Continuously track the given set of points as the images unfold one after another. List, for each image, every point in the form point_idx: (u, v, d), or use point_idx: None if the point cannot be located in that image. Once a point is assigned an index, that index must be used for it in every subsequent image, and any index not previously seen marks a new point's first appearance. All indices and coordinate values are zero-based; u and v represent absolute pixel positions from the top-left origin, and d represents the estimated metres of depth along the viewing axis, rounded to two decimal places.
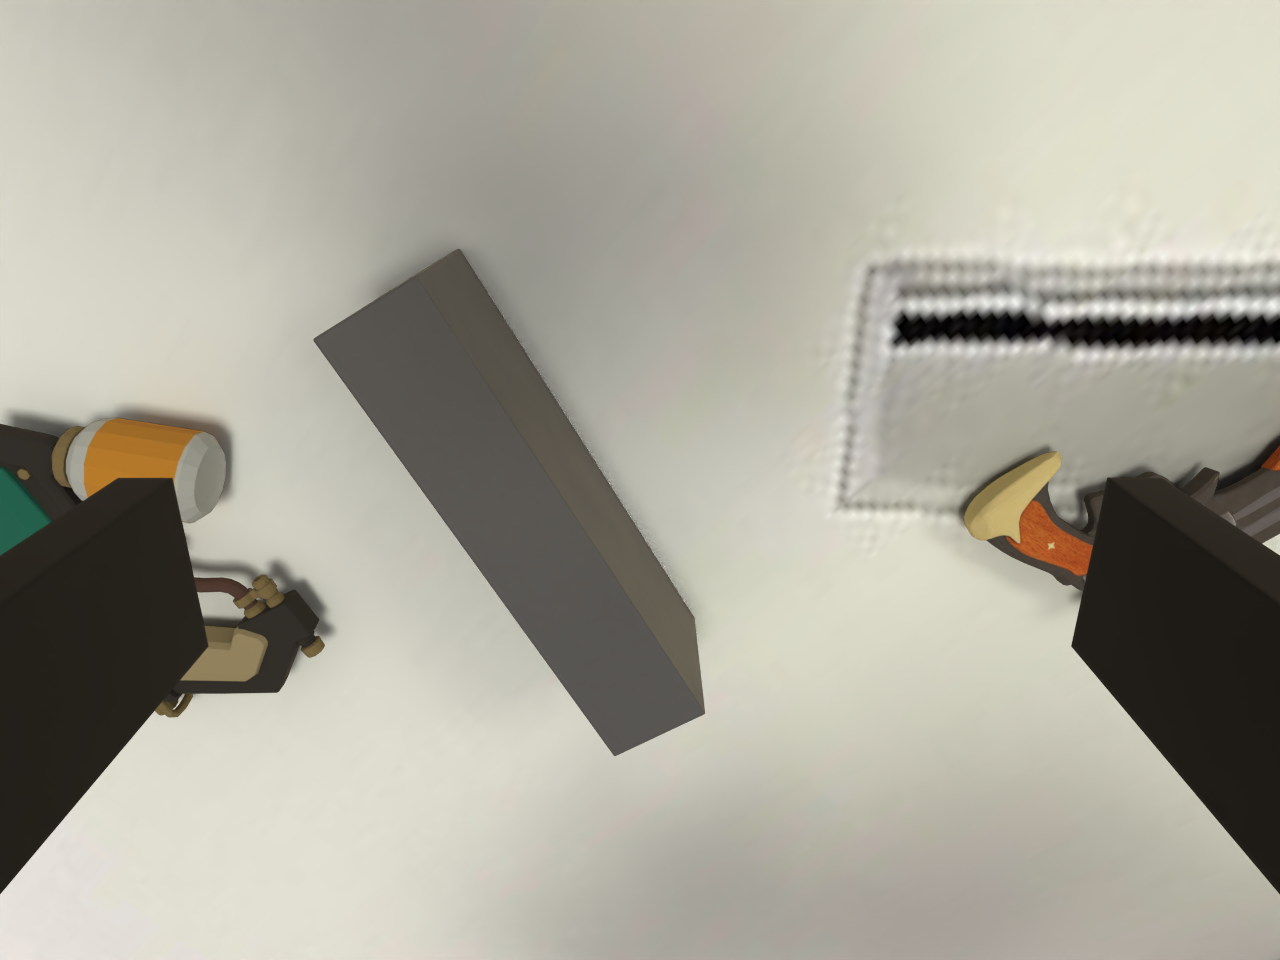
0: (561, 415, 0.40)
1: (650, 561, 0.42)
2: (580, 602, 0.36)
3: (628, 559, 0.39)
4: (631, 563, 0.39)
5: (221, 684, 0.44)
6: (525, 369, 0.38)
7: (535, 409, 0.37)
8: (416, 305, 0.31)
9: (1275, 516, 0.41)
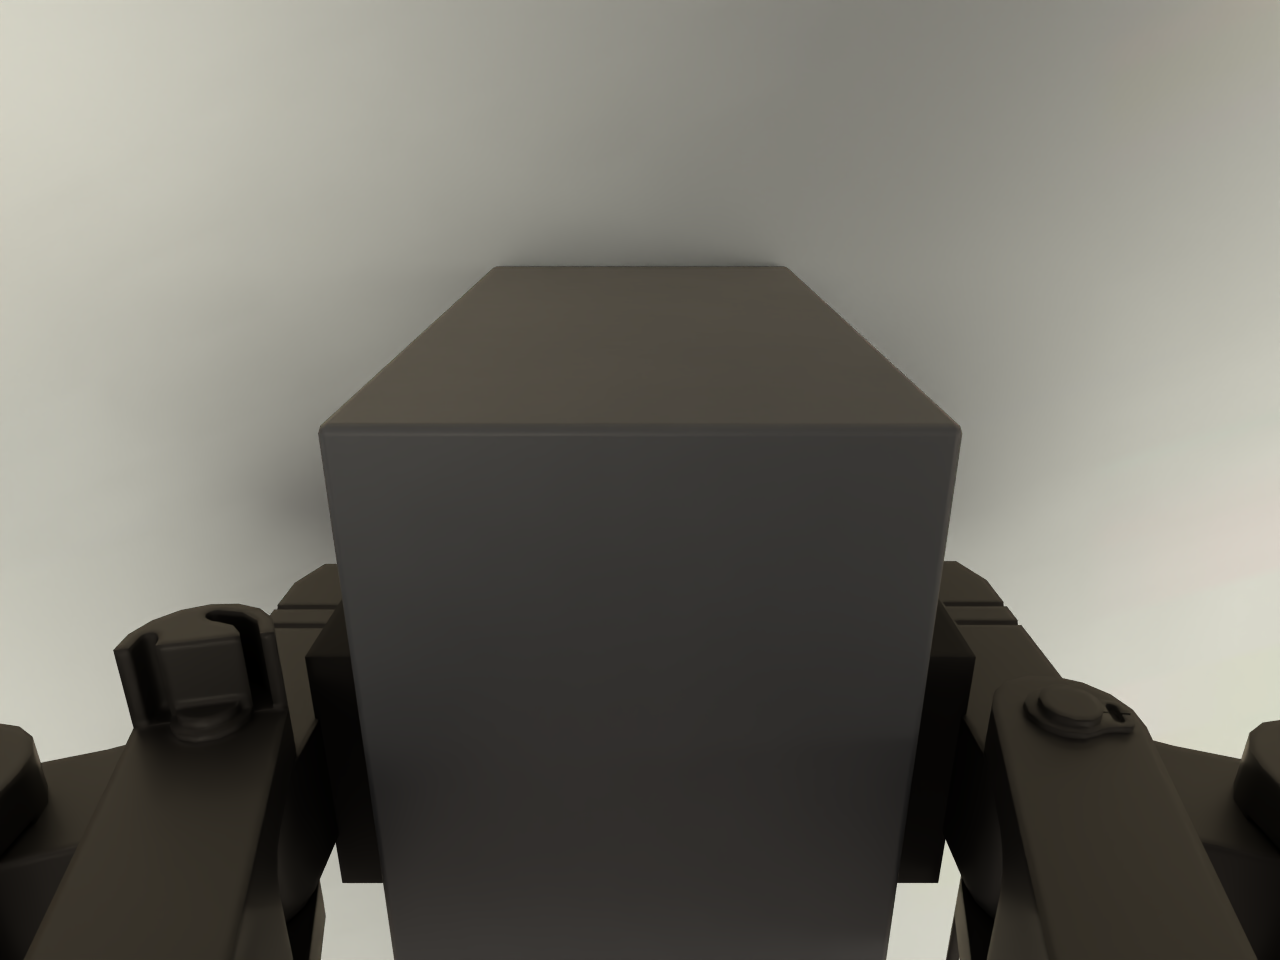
0: None
1: None
2: None
3: None
4: None
5: None
6: None
7: None
8: (869, 538, 0.06)
9: None
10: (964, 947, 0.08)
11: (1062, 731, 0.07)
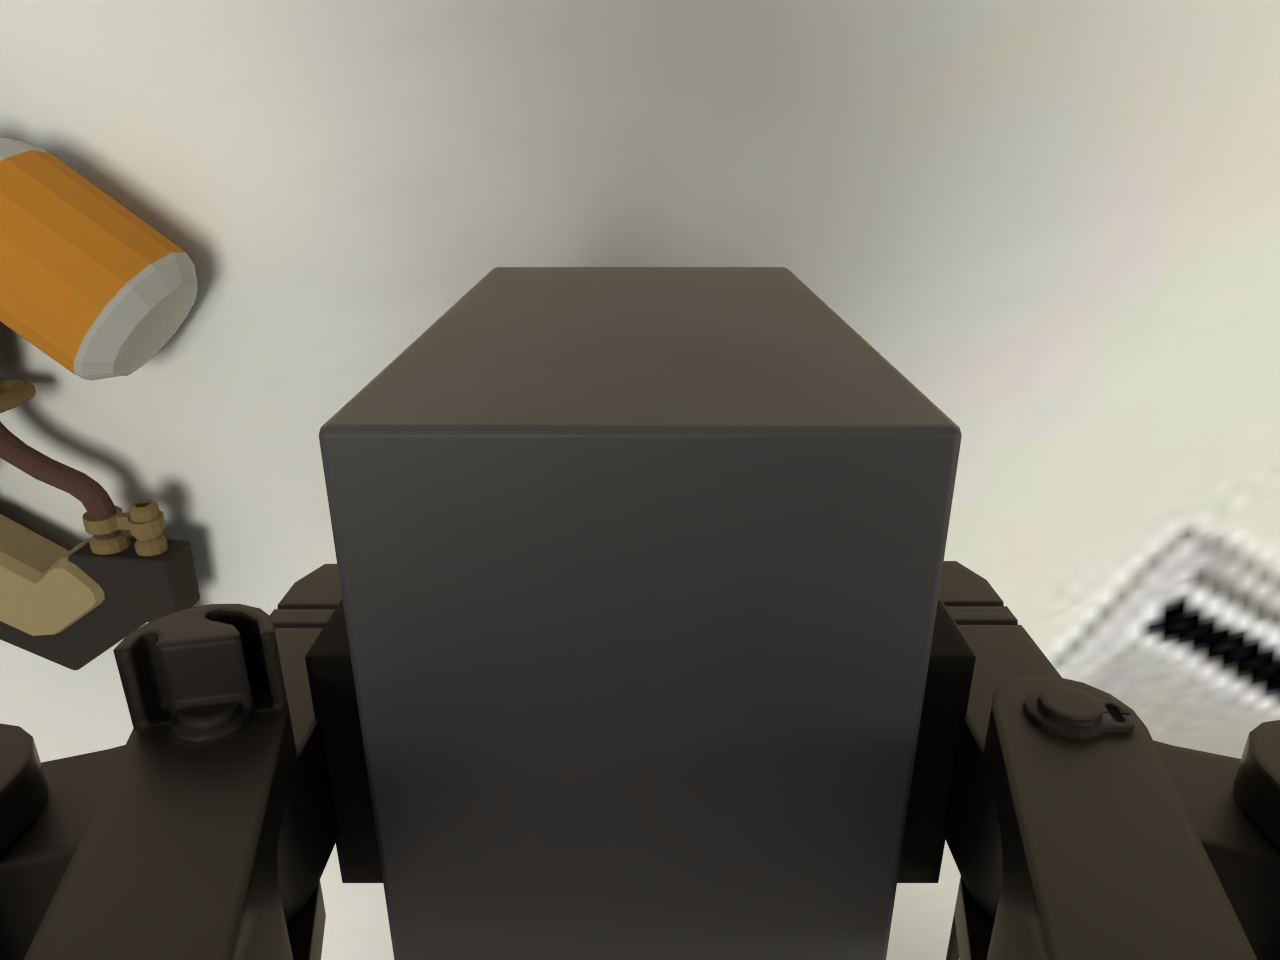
0: None
1: None
2: None
3: None
4: None
5: None
6: None
7: None
8: (869, 539, 0.06)
9: None
10: (963, 947, 0.08)
11: (1062, 732, 0.07)
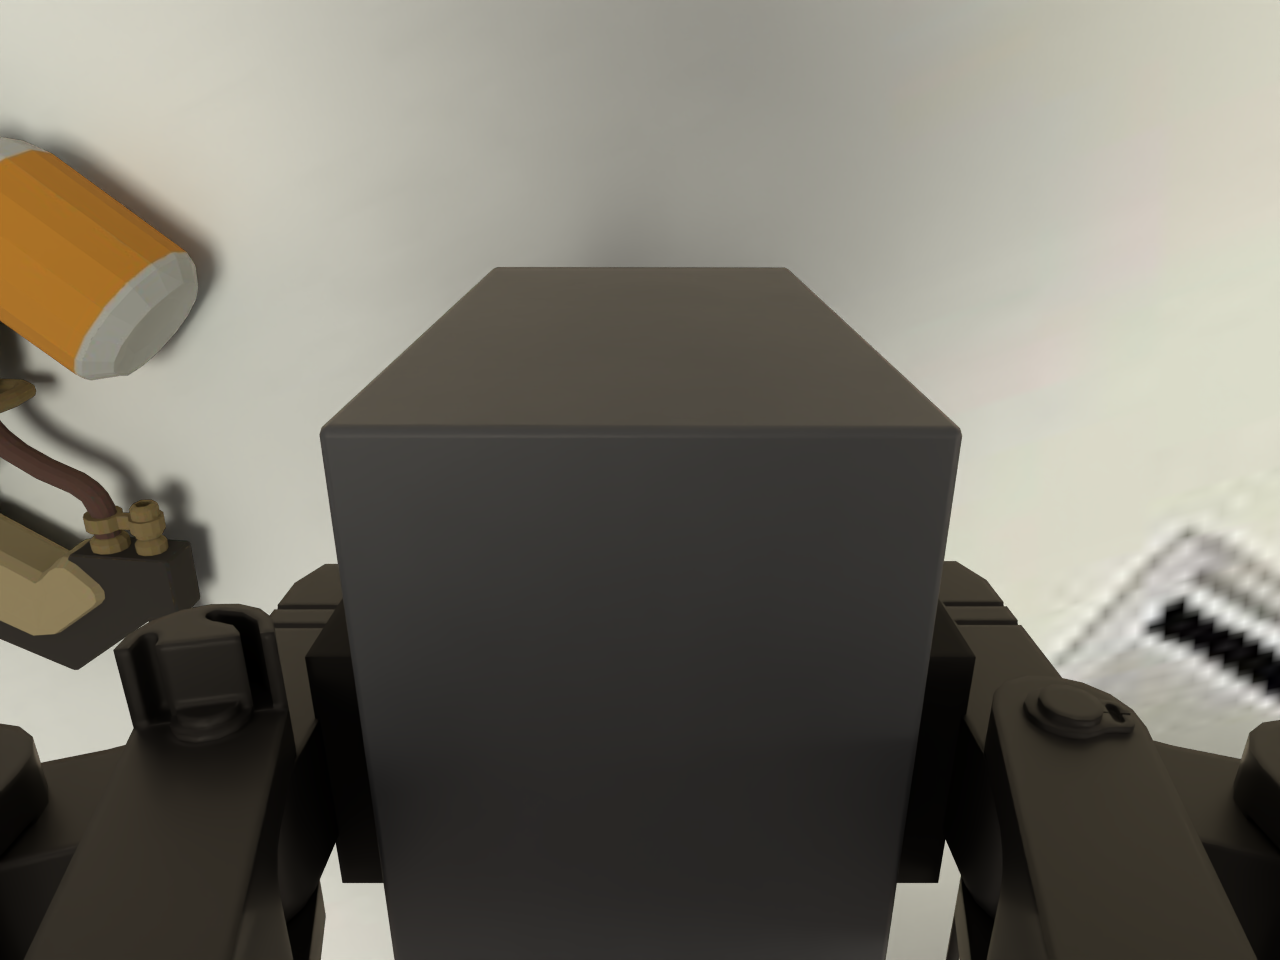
0: None
1: None
2: None
3: None
4: None
5: None
6: None
7: None
8: (870, 539, 0.06)
9: None
10: (964, 947, 0.08)
11: (1063, 732, 0.07)
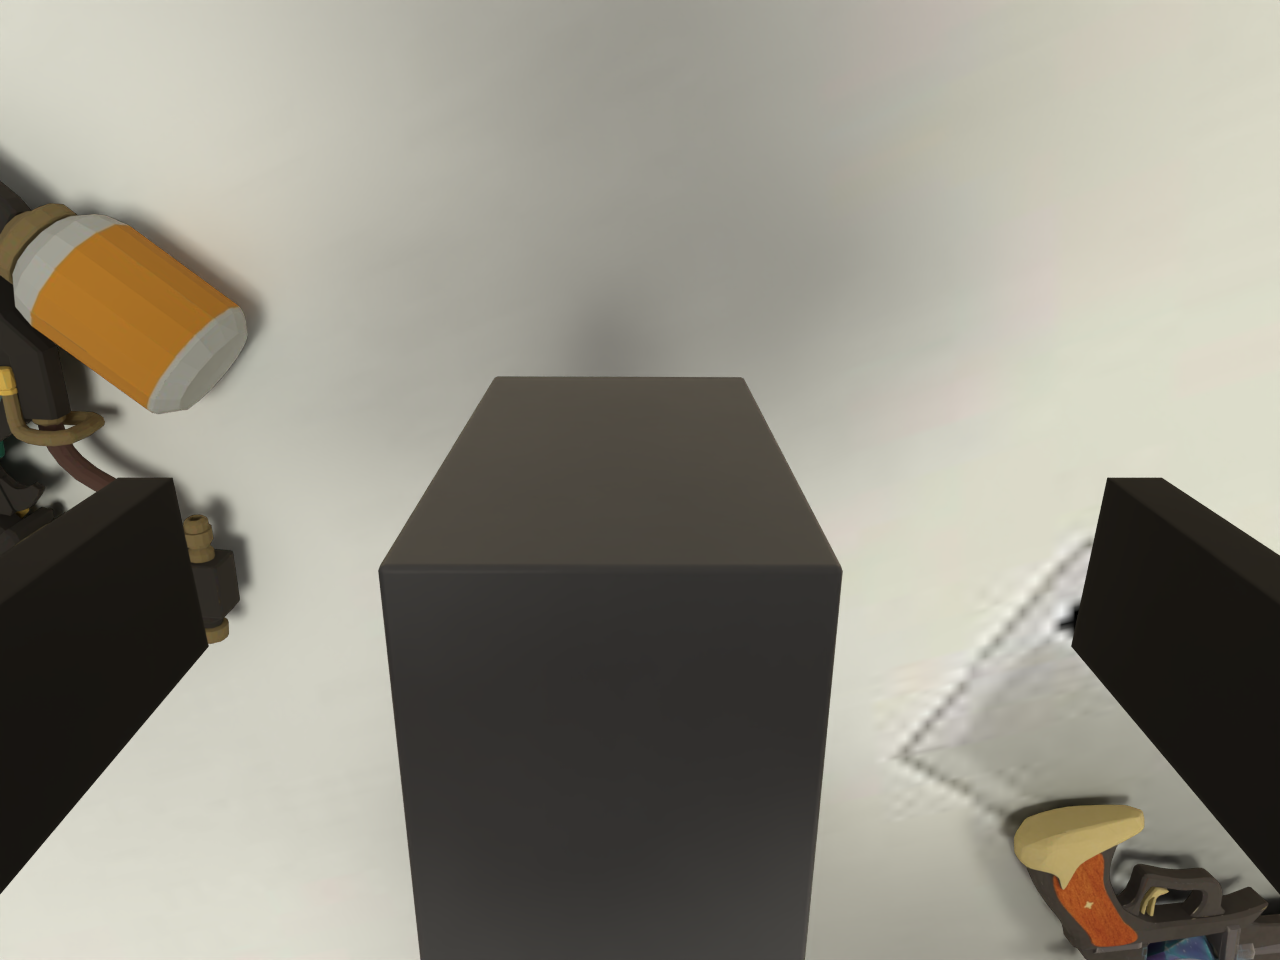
0: None
1: None
2: None
3: None
4: None
5: None
6: None
7: None
8: (779, 644, 0.09)
9: None
10: None
11: None
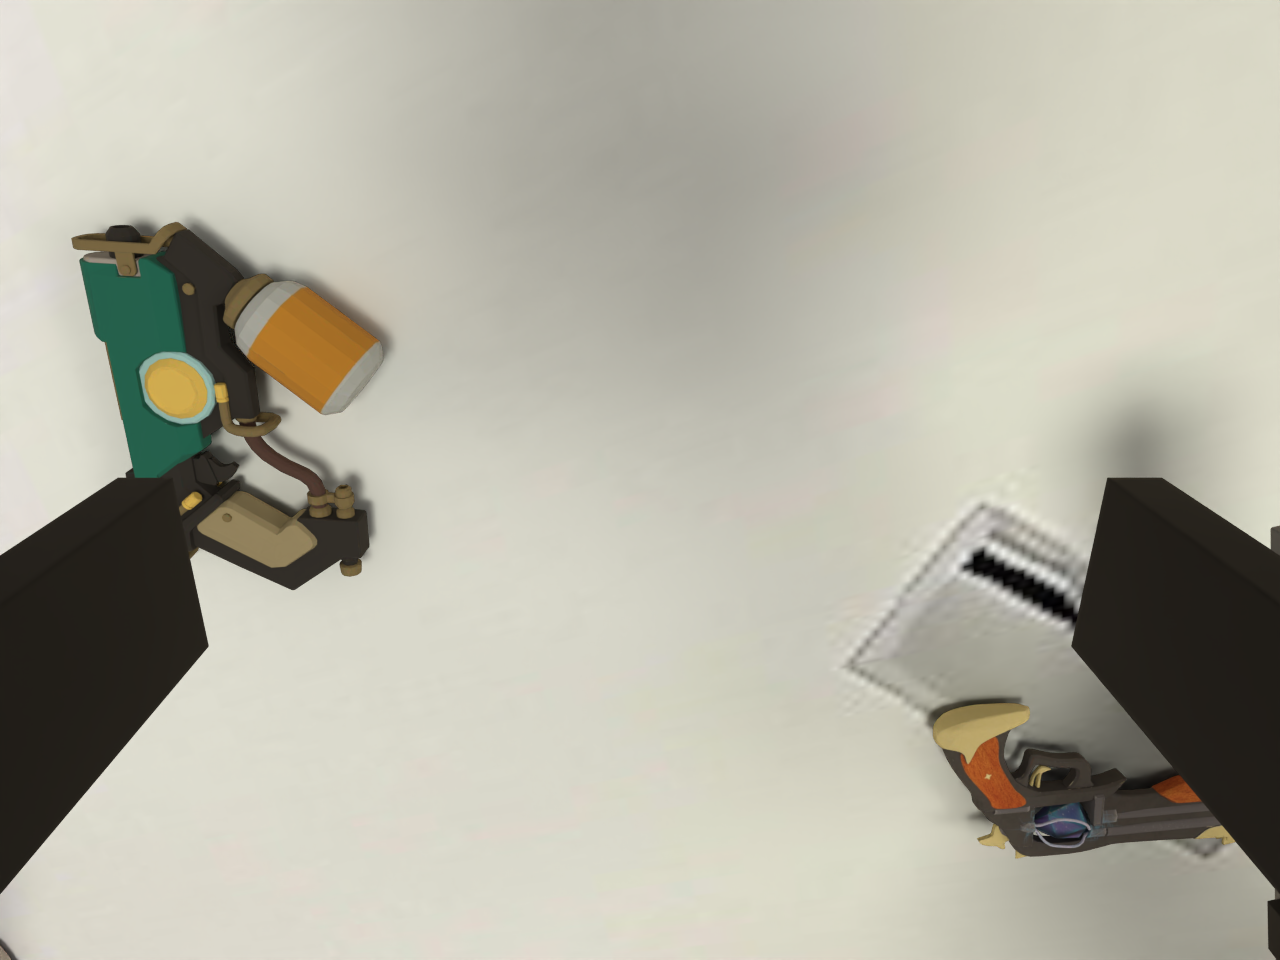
0: None
1: None
2: None
3: None
4: None
5: (245, 558, 0.43)
6: None
7: None
8: None
9: (1143, 828, 0.50)
10: None
11: None
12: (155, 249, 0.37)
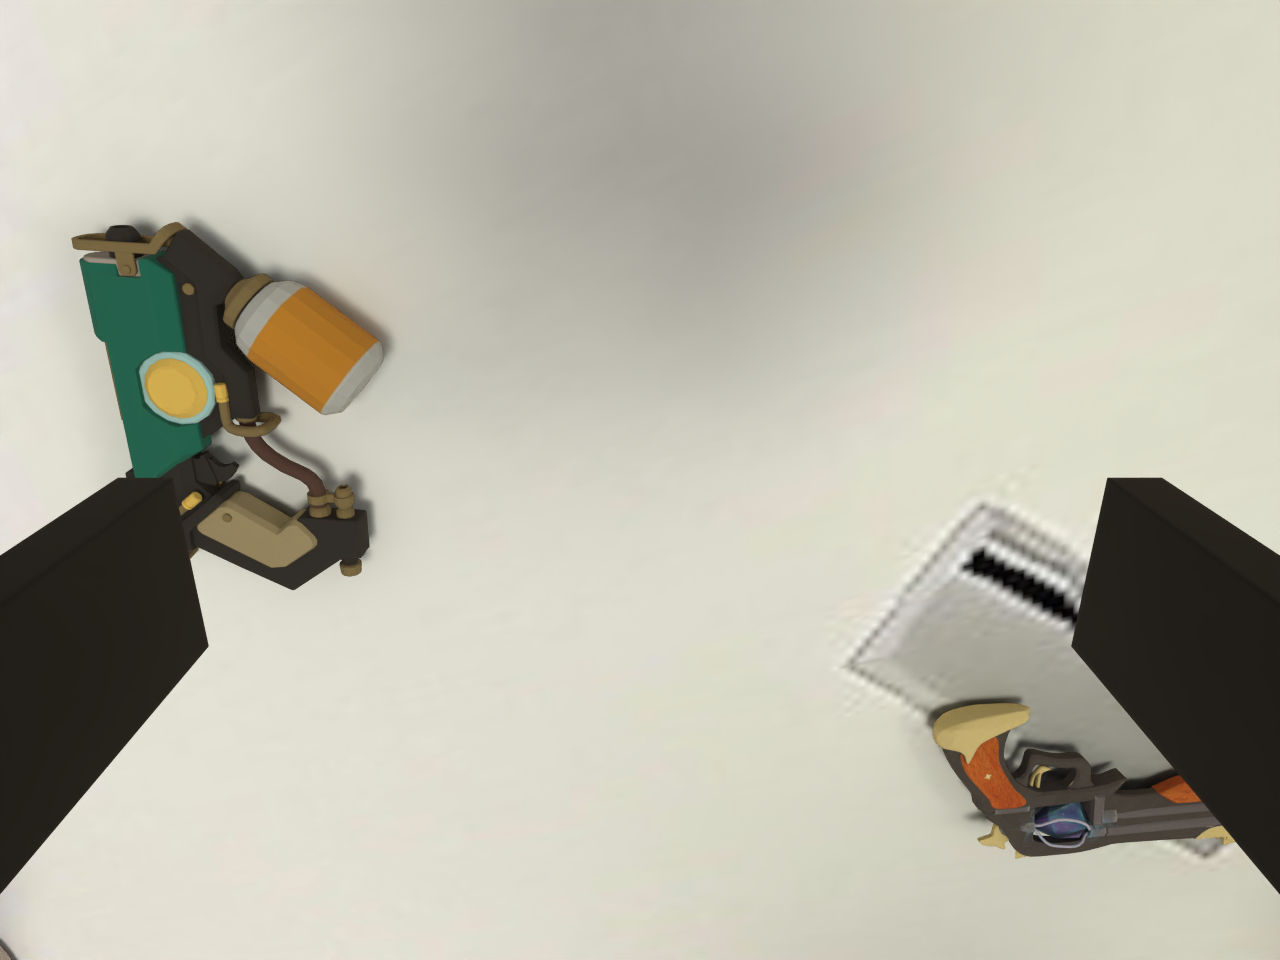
0: None
1: None
2: None
3: None
4: None
5: (245, 558, 0.43)
6: None
7: None
8: None
9: (1143, 828, 0.50)
10: None
11: None
12: (155, 249, 0.37)
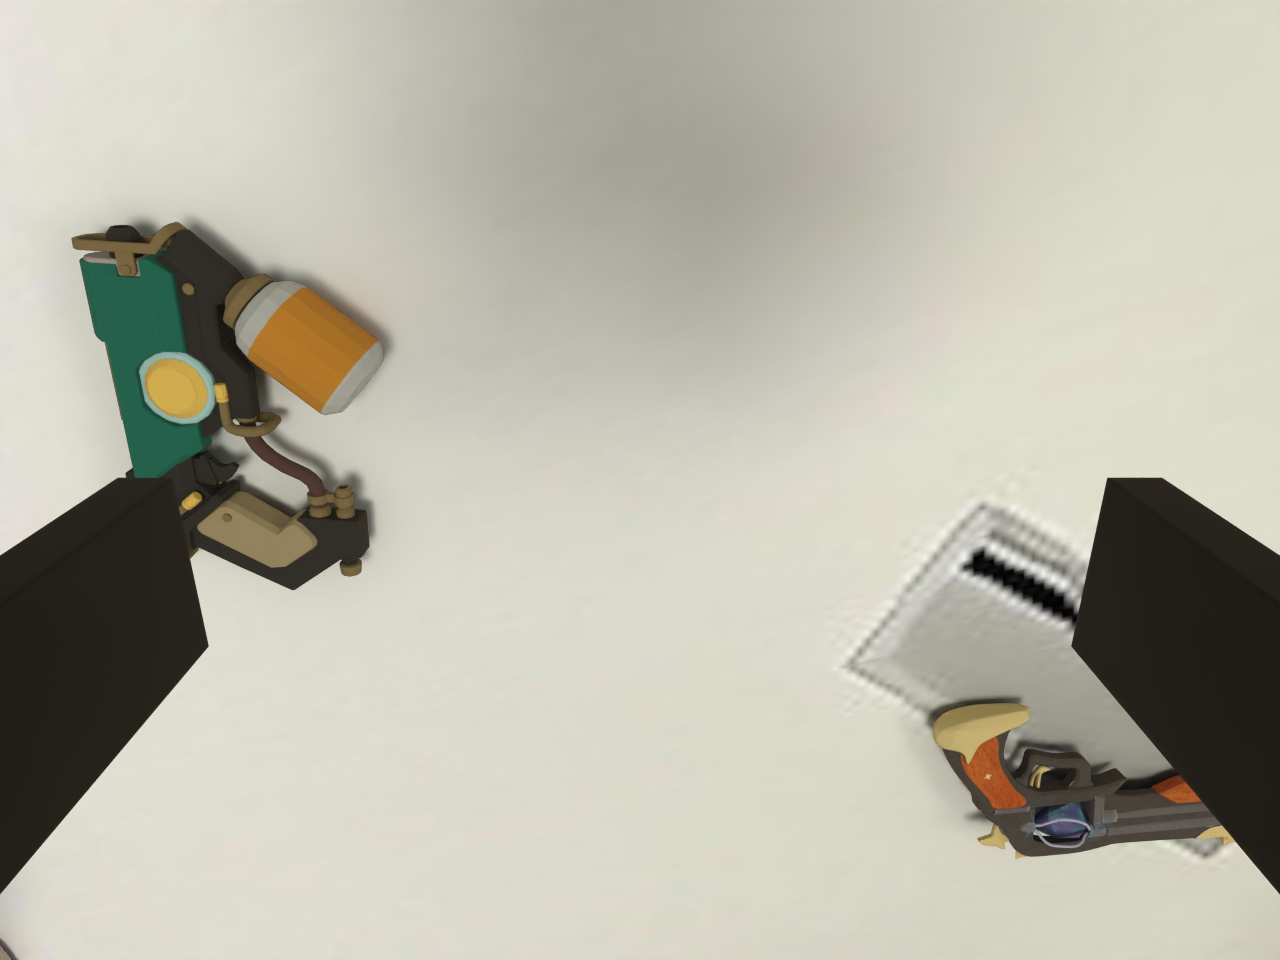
0: None
1: None
2: None
3: None
4: None
5: (245, 558, 0.43)
6: None
7: None
8: None
9: (1143, 828, 0.50)
10: None
11: None
12: (155, 249, 0.37)
